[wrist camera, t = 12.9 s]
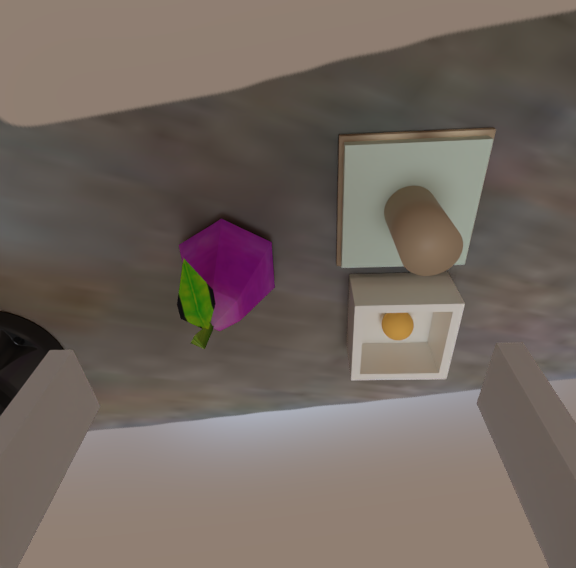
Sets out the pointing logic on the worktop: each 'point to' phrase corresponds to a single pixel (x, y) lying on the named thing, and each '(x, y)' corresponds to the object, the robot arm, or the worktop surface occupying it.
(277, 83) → the worktop surface
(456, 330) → the white open box
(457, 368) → the worktop surface
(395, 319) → the orange
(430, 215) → the lid
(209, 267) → the magenta low-poly plum
